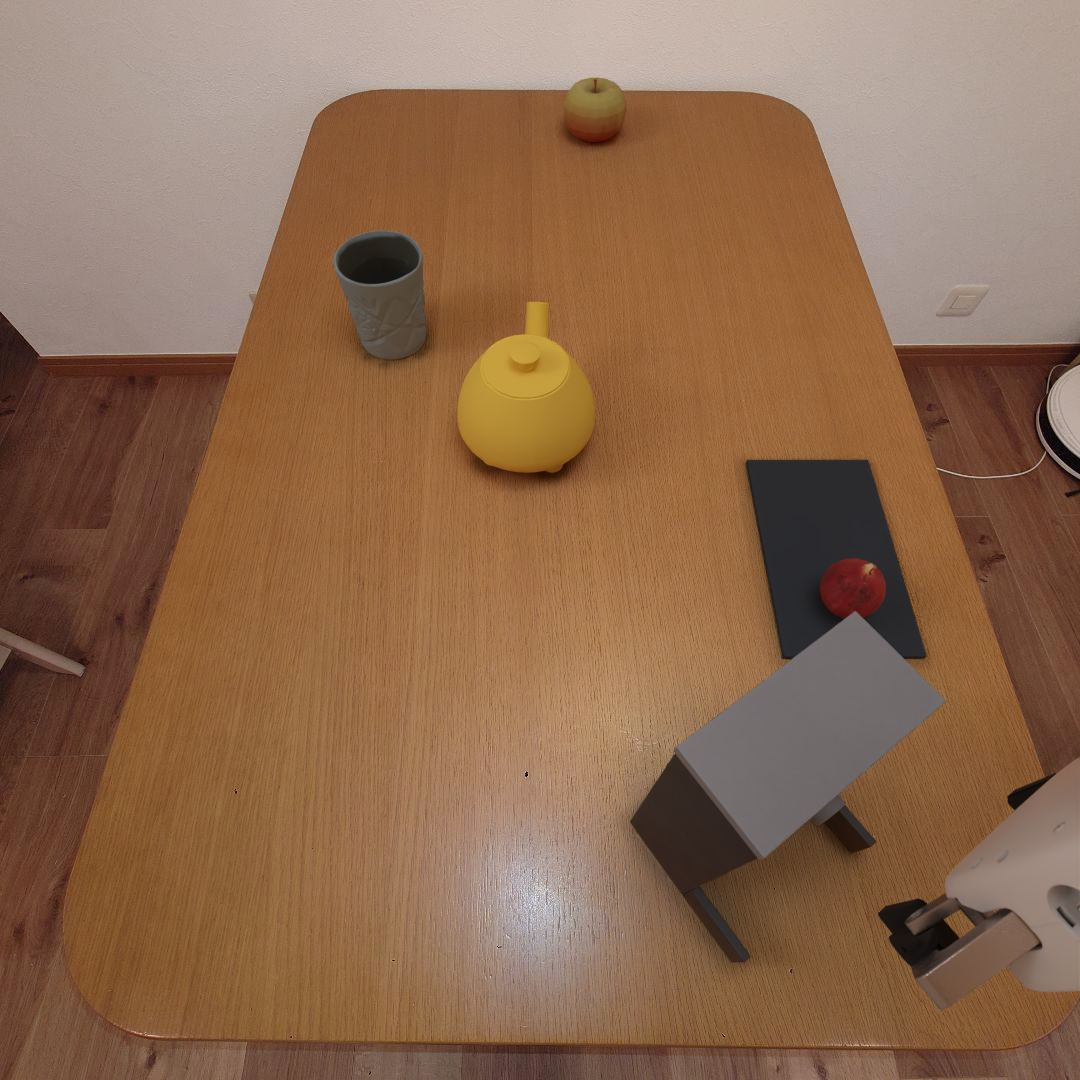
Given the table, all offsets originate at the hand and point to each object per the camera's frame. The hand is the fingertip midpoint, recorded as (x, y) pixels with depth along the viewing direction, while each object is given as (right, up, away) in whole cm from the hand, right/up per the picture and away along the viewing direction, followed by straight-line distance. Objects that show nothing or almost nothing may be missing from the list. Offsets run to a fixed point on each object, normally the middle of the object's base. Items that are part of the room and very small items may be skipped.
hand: (971, 878), depth 36 cm
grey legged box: (-4, -9, +26) cm, 28 cm away
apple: (-13, +83, +81) cm, 117 cm away
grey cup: (-40, +43, +57) cm, 82 cm away
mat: (+9, +15, +41) cm, 45 cm away
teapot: (-23, +31, +50) cm, 63 cm away
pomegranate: (+9, +10, +37) cm, 39 cm away
